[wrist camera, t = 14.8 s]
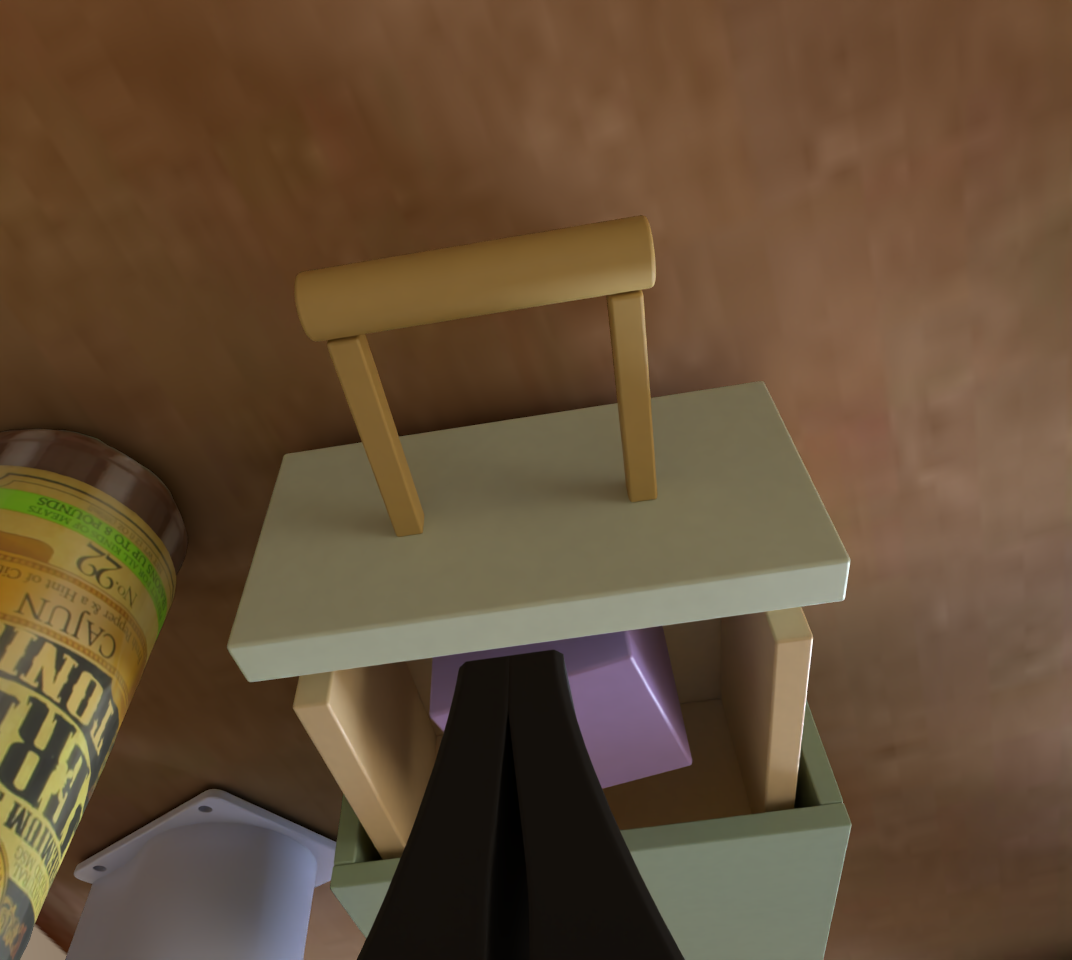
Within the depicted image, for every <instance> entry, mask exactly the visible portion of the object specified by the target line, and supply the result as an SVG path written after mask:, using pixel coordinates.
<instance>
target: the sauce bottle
mask: <svg viewBox="0 0 1072 960" xmlns="http://www.w3.org/2000/svg"><path fill="white" fill-rule="evenodd" d="M187 546H188V538H187V532H186V529H185V526H184V522H183V520H182V517H181V514H180V512H179V510H178V508H177V505H176V504H175V502H174V500H173V497H172V495H171V492H170V491H169V489H168V488H167V487H166V486H165V485H164V483H163V482H162V481H161V480H160V479H159V478H158V477H157V476H156V475H155V474H154V473H153V472H151V471H150V470H149V469H147V468H146V467H144V466H142V465H141V464H139V463H138V462H136V461H135V460H133V459H132V458H130V457H128V456H127V455H125V454H123V453H122V452H120V451H118V450H116V449H115V448H113V447H110V446H108V445H106V444H105V443H103V442H102V441H101V440H99V439H97V438H94V437H91V436H88V435H84V434H81V433H78V432H73V431H66V430H51V429H40V428H39V429H24V430H17V431H16V430H9V431H2V432H0V960H20V958H21V956H22V954H23V952H24V950H25V949H26V947H27V944H28V942H29V940H30V937H31V934H32V930H33V927H34V924H35V922H36V919H37V917H38V915H39V912H40V910H41V908H42V905H43V903H44V900H45V898H46V896H47V894H48V891H49V889H50V887H51V885H52V883H53V880H54V878H55V876H56V874H57V872H58V869H59V867H60V865H61V863H62V860H63V858H64V856H65V854H66V852H67V849H68V847H69V845H70V843H71V840H72V838H73V836H74V833H75V831H76V829H77V827H78V824H79V822H80V820H81V818H82V815H83V813H84V811H85V809H86V807H87V805H88V802H89V800H90V798H91V796H92V794H93V792H94V789H95V787H96V784H97V782H98V780H99V777H100V775H101V773H102V770H103V768H104V766H105V763H106V761H107V758H108V756H109V754H110V752H111V750H112V748H113V745H114V743H115V740H116V737H117V733H118V730H119V728H120V726H121V723H122V721H123V719H124V716H125V714H126V712H127V709H128V707H129V705H130V702H131V700H132V698H133V695H134V693H135V691H136V688H137V686H138V684H139V681H140V679H141V676H142V674H143V671H144V668H145V666H146V664H147V661H148V659H149V656H150V654H151V651H152V649H153V646H154V644H155V641H156V639H157V637H158V635H159V632H160V630H161V628H162V626H163V623H164V621H165V619H166V616H167V614H168V612H169V609H170V607H171V605H172V602H173V599H174V595H175V588H176V575H177V573H178V571H179V569H180V567H181V566H182V562H183V560H184V558H185V554H186V551H187Z"/></svg>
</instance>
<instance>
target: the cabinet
mask: <svg viewBox="0 0 1072 960" xmlns="http://www.w3.org/2000/svg"><path fill="white" fill-rule="evenodd" d="M850 830H851V821H850V818H849V815H848V813H847V810H846V807H845V805H844V803H843V799H842V796H841V793H840V791H839V788H838V785H837V782H836V780H835V777H834V774H833V771H832V769H831V766H830V763H829V760H828V758H827V755H826V752H825V749H824V747H823V744H822V741H821V738H820V735H819V733H818V730H817V727H816V724H815V722H814V719H813V716H812V713H811V711H810V708H809V705H808V702H807V700H806V705H805V714H804V723H803V732H802V741H801V750H800V759H799V768H798V777H797V786H796V795H795V803H794V809H789V810H780V811H772V812H764V813H756V814H748V815H740V816H732V817H724V818H716V819H708V820H700V821H692V822H684V823H676V824H668V825H659V826H651V827H643V828H635V829H627V830H620V832H621V834H622V836H623V838H624V841H625V843H626V845H627V847H628V849H629V851H630V853H631V855H632V858H633V860H634V862H635V864H636V866H637V868H638V870H639V872H640V874H641V876H642V878H643V880H644V882H645V884H646V886H647V888H648V890H649V892H650V895H651V896H652V898H653V900H654V902H655V904H656V906H657V908H658V910H659V912H660V914H661V916H662V918H663V920H664V922H665V923H666V925H667V927H668V929H669V931H670V933H671V935H672V937H673V938H674V940H675V942H676V944H677V946H678V948H679V950H680V951H681V953H682V955H683V957H684V959H685V960H823V958H824V953H825V949H826V944H827V939H828V934H829V930H830V925H831V920H832V915H833V911H834V906H835V901H836V896H837V892H838V887H839V882H840V877H841V873H842V868H843V863H844V858H845V853H846V849H847V844H848V839H849V834H850ZM399 861H400V858H393V859H385V860H383V859H382V857H381V856H380V854H379V852H378V851H377V849H376V847H375V846H374V844H373V842H372V841H371V839H370V837H369V836H368V834H367V832H366V831H365V829H364V827H363V826H362V824H361V822H360V821H359V819H358V817H357V815H356V814H355V812H354V810H353V809H352V807H351V805H350V804H349V802H348V800H347V799H346V797H345V795H344V794H343V799H342V806H341V814H340V821H339V828H338V835H337V843H336V850H335V857H334V866H333V869H332V877H331V884H330V889H331V891H332V892H333V893H334V895H335V896H336V897H337V899H338V900H339V902H340V903H341V904H342V906H343V907H344V909H345V910H346V911H347V913H348V914H349V915H350V917H351V918H352V920H353V921H354V922H355V924H356V925H357V927H358V928H359V929H360V931H361V932H362V933H363V935H364V936H365V938H366V939H367V937H368V934H369V932H370V930H371V928H372V925H373V923H374V921H375V919H376V916H377V914H378V912H379V910H380V907H381V905H382V903H383V900H384V898H385V896H386V893H387V891H388V888H389V886H390V883H391V881H392V878H393V876H394V873H395V871H396V868H397V866H398V863H399Z"/></svg>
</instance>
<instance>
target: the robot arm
mask: <svg viewBox="0 0 1072 960" xmlns="http://www.w3.org/2000/svg"><path fill="white" fill-rule="evenodd" d="M336 843H337V842H335V841H333V840H331V839H328V838H326V837H324V836H322V835H320V834H317V833H315V832H313V831H311V830H309V829H306V828H304V827H302V826H300V825H298V824H295V823H293V822H291V821H289V820H287V819H285V818H282V817H280V816H278V815H276V814H274V813H271V812H269V811H267V810H265V809H263V808H260V807H258V806H256V805H254V804H252V803H249V802H247V801H245V800H243V799H241V798H238V797H236V796H234V795H232V794H230V793H228V792H225V791H223V790H220V789H209V790H207V791H205V792H203V793H201V794H199V795H198V796H196V797H194V798H192V799H191V800H189V801H187V802H185V803H184V804H182V805H180V806H178V807H177V808H175V809H173V810H172V811H170V812H168V813H166V814H165V815H163V816H161V817H159V818H158V819H156V820H154V821H152V822H151V823H149V824H147V825H145V826H144V827H142V828H140V829H138V830H137V831H135V832H133V833H131V834H130V835H128V836H126V837H125V838H123V839H121V840H119V841H118V842H116V843H114V844H112V845H111V846H109V847H107V848H105V849H104V850H102V851H100V852H98V853H97V854H95V855H93V856H91V857H90V858H88V859H86V860H85V861H83V862H81V863H79V864H78V865H77V866H76V868H75V871H74V876H75V877H76V878H77V879H79V880H82V881H85V882H88V883H91V884H92V887H91V889H90V892H89V895H88V898H87V901H86V903H85V906H84V909H83V912H82V915H81V917H80V920H79V923H78V926H77V928H76V931H75V934H74V937H73V940H72V942H71V945H70V948H69V951H68V954H67V956H66V959H65V960H303V956H304V950H305V943H306V936H307V930H308V923H309V917H310V910H311V904H312V897H313V891H314V888H315V887H317V886H319V885H321V884H324V883H326V882H328V881H330V880H331V877H332V869H333V866H334V857H335V850H336ZM357 960H685V959H684V957H683V955H682V953H681V951H680V950H679V948H678V946H677V944H676V942H675V940H674V938H673V937H672V935H671V933H670V931H669V929H668V927H667V925H666V923H665V922H664V920H663V918H662V916H661V914H660V912H659V910H658V908H657V906H656V904H655V902H654V900H653V898H652V896H651V895H650V892H649V890H648V888H647V886H646V884H645V882H644V880H643V878H642V876H641V874H640V872H639V870H638V868H637V866H636V864H635V862H634V860H633V858H632V855H631V853H630V851H629V849H628V847H627V845H626V843H625V841H624V838H623V836H622V834H621V832H620V830H619V827H618V825H617V823H616V821H615V818H614V816H613V814H612V812H611V809H610V807H609V804H608V802H607V799H606V797H605V794H604V792H603V789H602V787H601V785H600V782H599V780H598V777H597V775H596V772H595V770H594V767H593V765H592V762H591V759H590V757H589V754H588V751H587V748H586V746H585V743H584V740H583V737H582V734H581V730H580V727H579V724H578V721H577V718H576V713H575V708H574V703H573V699H572V694H571V689H570V684H569V679H568V674H567V669H566V665H565V660H564V655H563V653H560V652H558V651H556V650H546V651H539V652H532V653H524V654H517V655H510V656H502V657H495V658H488V659H481V660H473V661H466V662H465V663H464V664H463V665H462V666H460V667H459V671H458V676H457V681H456V686H455V691H454V695H453V699H452V703H451V708H450V711H449V715H448V719H447V723H446V726H445V730H444V734H443V737H442V740H441V744H440V747H439V750H438V754H437V757H436V760H435V764H434V767H433V770H432V773H431V776H430V778H429V781H428V784H427V787H426V790H425V793H424V796H423V799H422V802H421V805H420V808H419V811H418V814H417V816H416V819H415V822H414V825H413V828H412V830H411V833H410V836H409V838H408V841H407V843H406V846H405V848H404V851H403V853H402V856H401V858H400V861H399V863H398V866H397V868H396V871H395V873H394V876H393V878H392V881H391V883H390V886H389V888H388V891H387V893H386V896H385V898H384V900H383V903H382V905H381V907H380V910H379V912H378V914H377V916H376V919H375V921H374V923H373V925H372V928H371V930H370V932H369V934H368V937H367V939H366V941H365V943H364V945H363V948H362V950H361V952H360V954H359V956H358V958H357Z"/></svg>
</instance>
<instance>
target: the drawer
mask: <svg viewBox="0 0 1072 960" xmlns="http://www.w3.org/2000/svg"><path fill="white" fill-rule="evenodd" d="M655 279H656V264H655V252H654V245H653V238H652V233H651V228H650V225H649V222H648V220H647V218H646V217H645V216H642V215H640V216H634V217H628V218H622V219H616V220H610V221H604V222H598V223H592V224H586V225H580V226H574V227H568V228H562V229H556V230H550V231H544V232H538V233H532V234H526V235H520V236H514V237H508V238H502V239H496V240H490V241H484V242H478V243H471V244H465V245H459V246H453V247H447V248H441V249H435V250H429V251H423V252H417V253H411V254H405V255H399V256H393V257H387V258H381V259H375V260H369V261H363V262H357V263H351V264H345V265H339V266H333V267H327V268H321V269H315V270H309V271H303V272H300V273H299V274H298V275H297V276H296V278H295V284H294V296H295V304H296V309H297V313H298V316H299V320H300V322H301V325H302V327H303V329H304V331H305V333H306V335H307V336H308V337H309V339H311V340H312V341H316V342H319V341H325V340H328V342H327V348H328V351H329V353H330V356H331V359H332V361H333V364H334V367H335V370H336V372H337V375H338V378H339V381H340V383H341V386H342V389H343V392H344V394H345V397H346V400H347V403H348V405H349V408H350V411H351V413H352V416H353V419H354V422H355V424H356V427H357V430H358V433H359V435H360V438H361V441H362V442H361V443H354V444H347V445H341V446H334V447H328V448H321V449H315V450H308V451H302V452H295V453H289V454H285V455H284V456H283V460H282V463H281V466H280V470H279V473H278V476H277V480H276V483H275V486H274V490H273V493H272V496H271V500H270V503H269V506H268V510H267V513H266V516H265V520H264V523H263V527H262V530H261V533H260V537H259V540H258V543H257V547H256V550H255V553H254V557H253V560H252V563H251V567H250V570H249V573H248V577H247V580H246V583H245V587H244V590H243V593H242V597H241V600H240V603H239V607H238V610H237V613H236V617H235V620H234V623H233V627H232V630H231V633H230V637H229V640H228V643H227V649H228V651H229V653H230V654H231V656H232V657H233V659H234V661H235V662H236V664H237V665H238V667H239V668H240V670H241V672H242V673H243V675H244V676H245V678H246V679H247V681H249V682H257V681H264V680H272V679H279V678H286V677H293V676H299V679H298V684H297V689H296V694H295V698H294V703H293V710H294V711H295V713H296V715H297V716H298V718H299V720H300V721H301V723H302V725H303V726H304V728H305V730H306V731H307V733H308V735H309V736H310V738H311V740H312V742H313V743H314V745H315V747H316V748H317V750H318V752H319V753H320V755H321V757H322V758H323V760H324V762H325V763H326V765H327V767H328V768H329V770H330V772H331V773H332V775H333V777H334V778H335V780H336V782H337V784H338V785H339V787H340V789H341V790H342V792H343V794H344V795H345V797H346V799H347V800H348V802H349V804H350V805H351V807H352V809H353V810H354V812H355V814H356V815H357V817H358V819H359V821H360V822H361V824H362V826H363V827H364V829H365V831H366V832H367V834H368V836H369V837H370V839H371V841H372V842H373V844H374V846H375V847H376V849H377V851H378V852H379V854H380V856H381V857H382V859H383V860H385V859H393V858H401V856H402V853H403V851H404V848H405V846H406V843H407V841H408V838H409V836H410V833H411V830H412V828H413V825H414V822H415V819H416V816H417V814H418V811H419V808H420V805H421V802H422V799H423V796H424V793H425V790H426V787H427V784H428V781H429V778H430V776H431V773H432V770H433V767H434V764H435V760H436V757H437V754H438V750H439V747H440V744H441V740H442V737H443V734H444V732H443V731H442V730H441V729H440V728H439V727H438V726H437V725H436V724H435V722H434V721H433V720H432V719H431V718H430V715H429V711H430V693H431V675H432V657H439V656H446V655H453V654H460V653H468V652H475V651H482V650H489V649H497V648H504V647H511V646H518V645H526V644H533V643H540V642H548V641H555V640H562V639H569V638H577V637H584V636H591V635H598V634H606V633H613V632H620V631H627V630H635V629H642V628H649V627H656V626H663V630H664V635H665V639H666V644H667V648H668V653H669V657H670V662H671V666H672V671H673V675H674V680H675V685H676V689H677V694H678V698H679V703H680V707H681V712H682V716H683V721H684V725H685V730H686V734H687V739H688V744H689V748H690V753H691V757H692V764H691V765H690V766H686V767H682V768H679V769H675V770H671V771H667V772H664V773H660V774H656V775H652V776H648V777H645V778H641V779H637V780H633V781H629V782H626V783H622V784H618V785H614V786H611V787H607V788H603V792H604V794H605V797H606V799H607V802H608V804H609V807H610V809H611V812H612V814H613V816H614V818H615V821H616V823H617V825H618V827H619V830H627V829H635V828H643V827H651V826H659V825H668V824H676V823H684V822H692V821H700V820H708V819H716V818H724V817H732V816H740V815H748V814H756V813H764V812H772V811H780V810H789V809H794V803H795V795H796V786H797V777H798V768H799V759H800V750H801V741H802V732H803V723H804V714H805V705H806V697H807V688H808V679H809V670H810V661H811V652H812V643H813V635H812V633H811V630H810V628H809V625H808V622H807V620H806V617H805V615H804V612H803V610H802V606H809V605H816V604H823V603H831V602H838V601H842V600H844V599H845V594H846V587H847V580H848V573H849V566H850V558H849V556H848V554H847V552H846V550H845V547H844V545H843V543H842V541H841V539H840V537H839V535H838V533H837V531H836V529H835V527H834V525H833V523H832V521H831V519H830V517H829V515H828V513H827V511H826V508H825V506H824V504H823V502H822V500H821V498H820V496H819V494H818V492H817V490H816V488H815V486H814V484H813V482H812V480H811V478H810V476H809V474H808V471H807V469H806V467H805V465H804V463H803V461H802V459H801V457H800V455H799V453H798V451H797V449H796V447H795V445H794V443H793V441H792V439H791V437H790V435H789V432H788V430H787V428H786V426H785V424H784V422H783V420H782V418H781V416H780V414H779V412H778V410H777V408H776V406H775V404H774V402H773V400H772V398H771V395H770V393H769V391H768V389H767V387H766V385H765V383H764V382H763V381H758V382H751V383H745V384H738V385H732V386H725V387H719V388H712V389H706V390H699V391H693V392H686V393H680V394H673V395H667V396H660V397H654V398H651V396H650V382H649V368H648V354H647V340H646V326H645V311H644V297H643V293H642V289H648V288H651V287H653V286H654V283H655ZM604 295H606V297H607V306H608V316H609V326H610V335H611V345H612V355H613V364H614V374H615V384H616V393H617V403H615V404H608V405H602V406H595V407H588V408H582V409H575V410H569V411H562V412H556V413H549V414H543V415H536V416H530V417H523V418H517V419H510V420H504V421H497V422H491V423H484V424H478V425H471V426H465V427H458V428H452V429H445V430H439V431H432V432H426V433H419V434H413V435H406V436H400V437H399V436H398V433H397V430H396V427H395V424H394V421H393V418H392V414H391V411H390V408H389V405H388V402H387V399H386V396H385V393H384V390H383V387H382V384H381V381H380V378H379V375H378V372H377V369H376V365H375V362H374V359H373V356H372V353H371V350H370V347H369V344H368V341H367V338H366V335H365V334H368V333H375V332H381V331H387V330H393V329H399V328H406V327H412V326H418V325H424V324H431V323H437V322H443V321H449V320H455V319H462V318H468V317H474V316H480V315H486V314H493V313H499V312H505V311H511V310H517V309H524V308H530V307H536V306H542V305H548V304H555V303H561V302H567V301H573V300H579V299H586V298H592V297H598V296H604Z"/></svg>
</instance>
